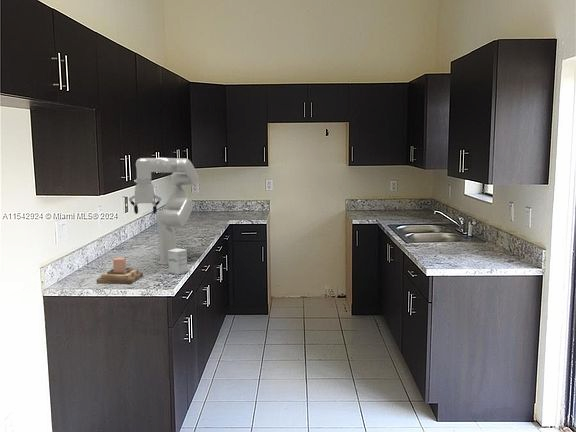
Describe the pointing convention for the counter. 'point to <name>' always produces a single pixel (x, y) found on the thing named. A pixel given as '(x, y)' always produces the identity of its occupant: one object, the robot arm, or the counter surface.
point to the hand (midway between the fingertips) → (145, 213)
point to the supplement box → (177, 261)
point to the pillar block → (119, 264)
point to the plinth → (105, 281)
